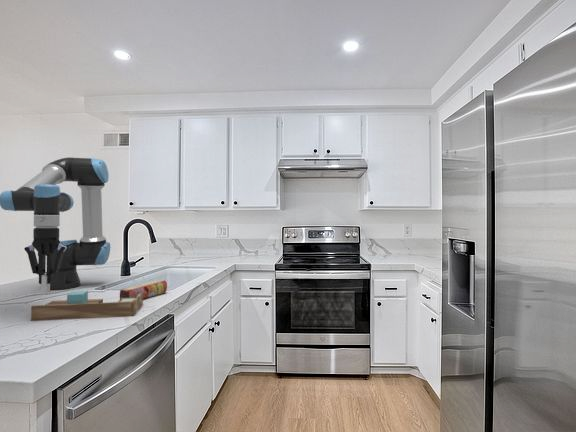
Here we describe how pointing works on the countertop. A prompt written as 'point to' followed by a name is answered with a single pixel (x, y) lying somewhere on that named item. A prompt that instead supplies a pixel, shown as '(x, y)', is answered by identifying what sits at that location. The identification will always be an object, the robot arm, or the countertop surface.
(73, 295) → the teal block
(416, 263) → the countertop surface
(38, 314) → the trap board
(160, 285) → the snack package
